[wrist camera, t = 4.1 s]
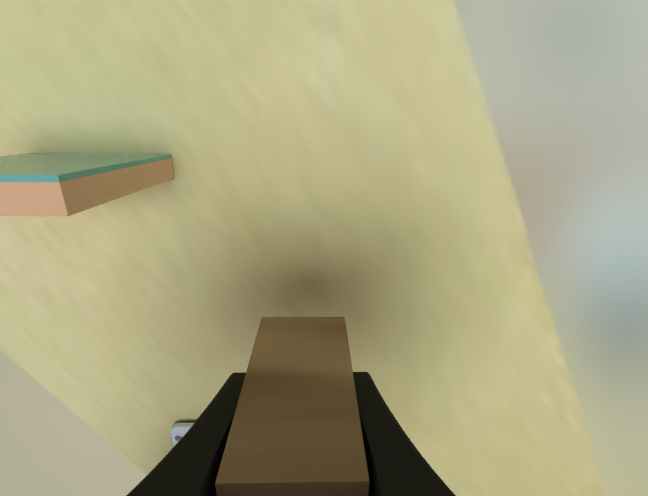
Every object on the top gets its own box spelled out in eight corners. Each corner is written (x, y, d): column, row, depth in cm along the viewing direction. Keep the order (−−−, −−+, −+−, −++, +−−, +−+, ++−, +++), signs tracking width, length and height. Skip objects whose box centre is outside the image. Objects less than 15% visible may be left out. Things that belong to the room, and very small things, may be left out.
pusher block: (341, 383, 13) (361, 574, 8) (265, 383, 13) (228, 577, 7) (344, 317, 12) (369, 481, 7) (261, 317, 12) (215, 483, 6)
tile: (174, 177, 17) (68, 215, 10) (38, 177, 17) (-176, 215, 10) (171, 154, 17) (57, 174, 10) (31, 153, 17) (-197, 174, 9)
